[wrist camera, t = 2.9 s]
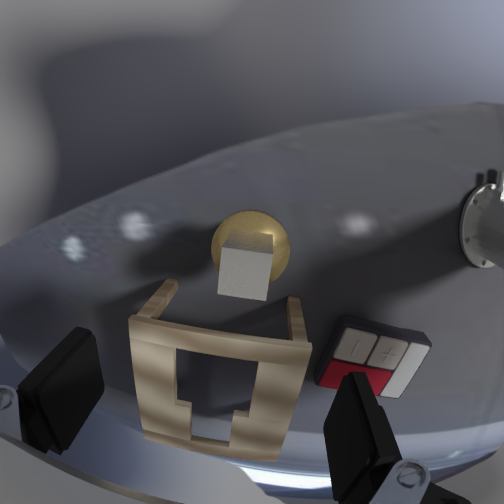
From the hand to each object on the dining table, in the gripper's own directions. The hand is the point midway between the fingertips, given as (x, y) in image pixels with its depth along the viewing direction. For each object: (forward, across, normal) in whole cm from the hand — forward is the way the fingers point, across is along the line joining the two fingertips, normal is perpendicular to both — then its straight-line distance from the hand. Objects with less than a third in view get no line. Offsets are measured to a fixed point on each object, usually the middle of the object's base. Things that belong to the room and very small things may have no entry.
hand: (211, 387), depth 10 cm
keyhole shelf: (+28, +2, +18) cm, 33 cm away
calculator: (+28, -20, +16) cm, 38 cm away
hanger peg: (+28, 0, 0) cm, 28 cm away
